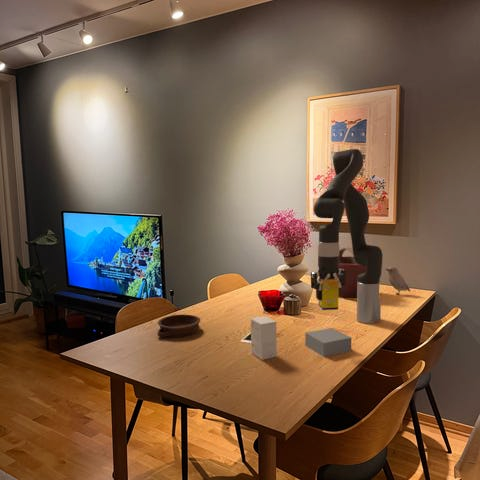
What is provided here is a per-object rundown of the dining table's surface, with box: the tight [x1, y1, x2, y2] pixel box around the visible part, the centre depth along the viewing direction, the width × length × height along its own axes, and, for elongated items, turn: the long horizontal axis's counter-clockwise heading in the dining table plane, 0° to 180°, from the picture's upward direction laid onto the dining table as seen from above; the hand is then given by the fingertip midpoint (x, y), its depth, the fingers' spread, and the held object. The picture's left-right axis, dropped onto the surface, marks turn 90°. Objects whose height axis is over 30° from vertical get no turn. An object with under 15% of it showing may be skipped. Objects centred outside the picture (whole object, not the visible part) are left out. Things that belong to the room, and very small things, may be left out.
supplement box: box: [318, 279, 339, 311], centre depth 166 cm, size 6×6×11 cm
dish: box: [157, 314, 201, 338], centre depth 190 cm, size 18×22×5 cm
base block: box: [304, 327, 352, 357], centre depth 169 cm, size 12×12×5 cm
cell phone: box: [240, 331, 251, 344], centre depth 183 cm, size 8×16×1 cm, turn 157°
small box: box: [250, 315, 278, 361], centre depth 163 cm, size 8×6×13 cm
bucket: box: [337, 247, 367, 300], centre depth 241 cm, size 24×22×25 cm
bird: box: [384, 266, 411, 296], centre depth 240 cm, size 5×14×15 cm, turn 82°
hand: (328, 298), depth 167 cm, fingers closed on supplement box, 7 cm apart
